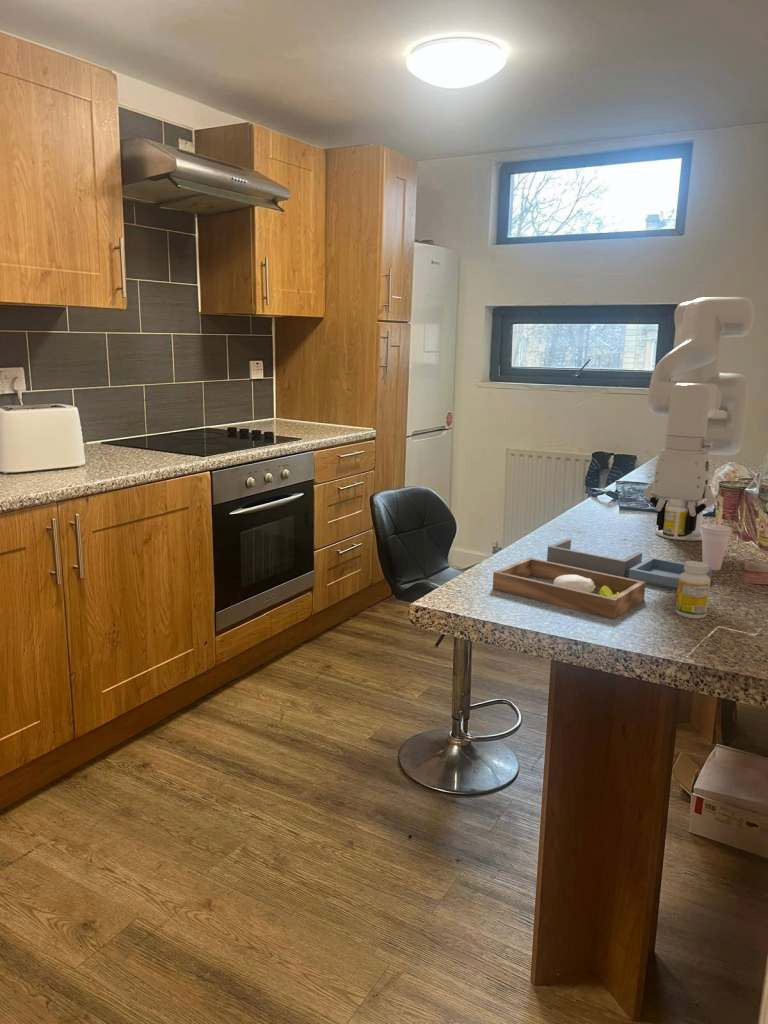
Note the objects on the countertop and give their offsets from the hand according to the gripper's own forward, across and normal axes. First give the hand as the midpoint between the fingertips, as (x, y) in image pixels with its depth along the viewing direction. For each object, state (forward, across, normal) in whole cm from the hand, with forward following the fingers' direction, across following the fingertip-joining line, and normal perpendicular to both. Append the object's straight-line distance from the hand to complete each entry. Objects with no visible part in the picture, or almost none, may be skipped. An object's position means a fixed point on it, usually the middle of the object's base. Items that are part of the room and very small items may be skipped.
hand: (675, 530), depth 153 cm
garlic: (+11, +11, +22) cm, 28 cm away
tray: (+11, 0, 0) cm, 11 cm away
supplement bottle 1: (+2, 0, 0) cm, 2 cm away
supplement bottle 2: (+11, -10, +19) cm, 24 cm away
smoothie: (+11, -4, -16) cm, 20 cm away
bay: (+11, +17, 0) cm, 20 cm away
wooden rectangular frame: (+11, +12, +24) cm, 29 cm away
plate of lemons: (+12, +4, +21) cm, 24 cm away
